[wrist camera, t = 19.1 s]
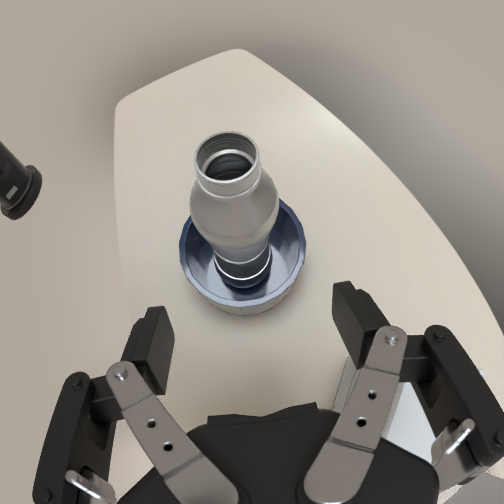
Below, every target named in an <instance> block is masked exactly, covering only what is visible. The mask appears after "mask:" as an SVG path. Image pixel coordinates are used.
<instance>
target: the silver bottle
mask: <svg viewBox="0 0 504 504" xmlns="http://www.w3.org/2000/svg"><path fill="white" fill-rule="evenodd" d="M194 165H195V169H196V172H197V180H196V182H195V183H194V186H193V188H192V191H191V197H190V214H191V218H192V221H193V223H194V225H195V227H196V228H197V230H198V231H199V233H200V234H201V235H202V236H203V237H204V238H205V239H206V240H207V241H208V243H209V244H210V245H211V246H212V248H213V251H214V252H213V257H214V265H215V268H216V271H217V273H218V274H219V276H220V277H221V278H222V279H223V280H224V281H225V282H227V283H228V284H230V285H232V286H235V287H239V288H248V287H252V286H255V285H256V284H258V283H260V282H261V281H262V280H263V279H264V278H265V277H266V275H267V274H268V273H269V271H270V268H271V265H272V259H273V255H272V249H271V246H270V243H269V234H270V232H271V230H272V228H273V225H274V223H275V221H276V217H277V214H278V210H279V197H278V192H277V189H276V187H275V185H274V183H273V181H272V179H271V177H270V176H269V174H268V173H267V172H266V171H265V170H264V169H263V168H261V164H260V161H259V151H258V148H257V146H256V144H255V142H254V141H253V140H252V139H251V138H250V137H248V136H246V135H245V134H242V133H239V132H234V131H225V132H220V133H216V134H214V135H211V136H209V137H208V138H206V139H205V140H204V141H203V142H202V143H201V144H200V145H199V147H198V148H197V150H196V152H195V156H194Z"/></svg>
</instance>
